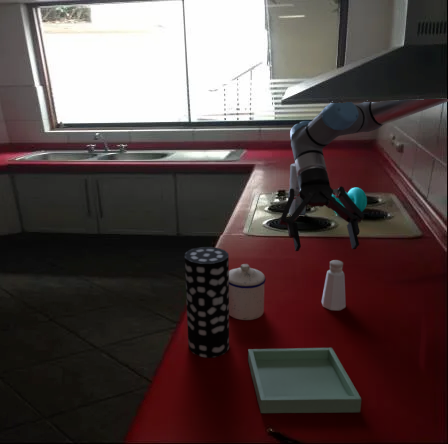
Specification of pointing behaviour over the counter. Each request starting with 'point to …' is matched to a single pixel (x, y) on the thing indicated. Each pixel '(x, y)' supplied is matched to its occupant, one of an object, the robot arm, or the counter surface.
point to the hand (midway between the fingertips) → (326, 248)
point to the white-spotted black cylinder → (207, 301)
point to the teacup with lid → (246, 293)
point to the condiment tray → (301, 381)
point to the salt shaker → (334, 287)
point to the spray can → (295, 186)
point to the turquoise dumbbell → (356, 198)
